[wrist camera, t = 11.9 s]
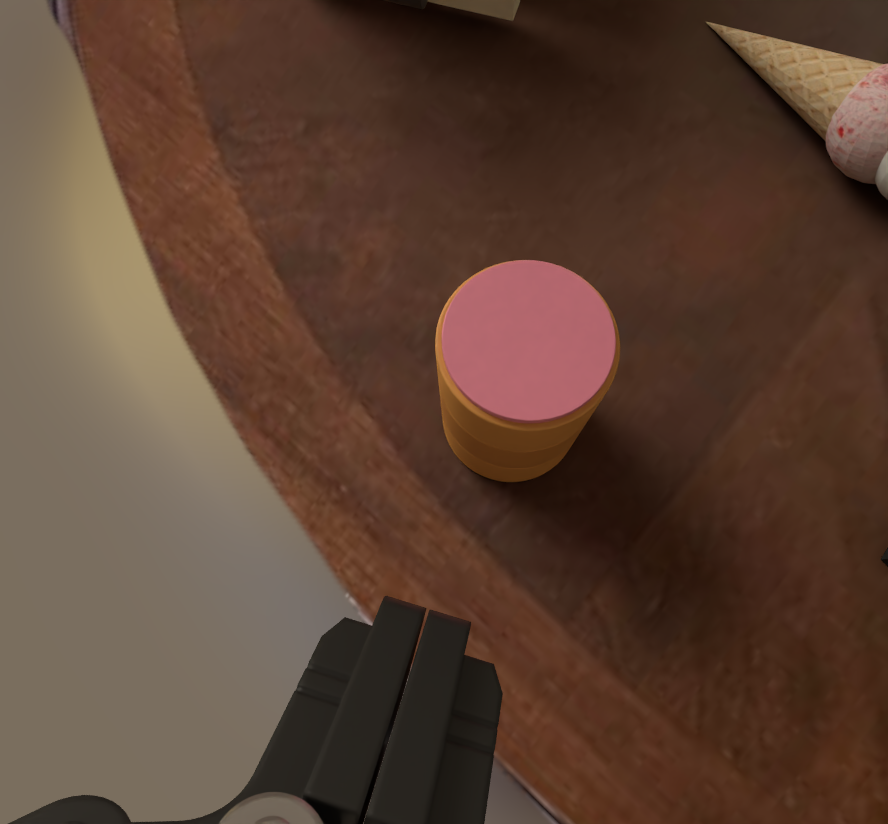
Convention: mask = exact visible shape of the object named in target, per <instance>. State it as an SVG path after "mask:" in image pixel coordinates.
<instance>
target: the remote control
mask: <svg viewBox="0 0 888 824" xmlns="http://www.w3.org/2000/svg"><path fill="white" fill-rule="evenodd" d="M881 560H882V561H883V562H884V563H885V564H886V565H887V566H888V548H887V550H886V551H885V553H884V555H883V556H882V558H881Z"/></svg>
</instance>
